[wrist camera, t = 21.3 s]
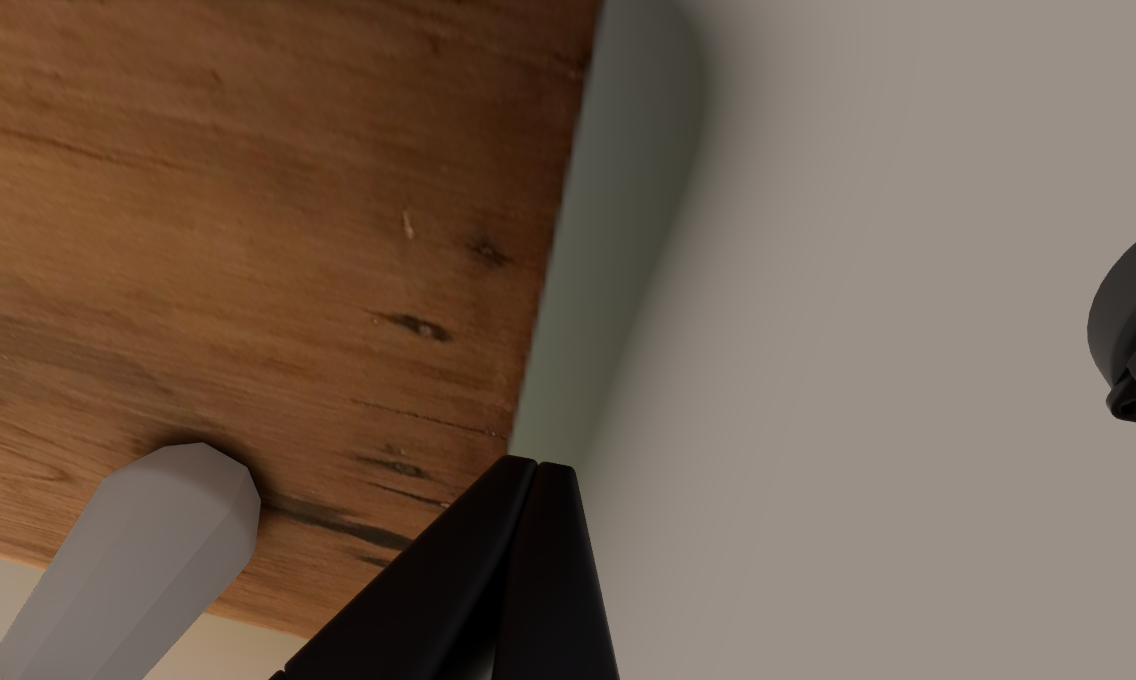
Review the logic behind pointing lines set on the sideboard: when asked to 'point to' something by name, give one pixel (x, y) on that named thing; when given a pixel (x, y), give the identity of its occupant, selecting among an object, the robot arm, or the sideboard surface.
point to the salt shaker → (137, 568)
